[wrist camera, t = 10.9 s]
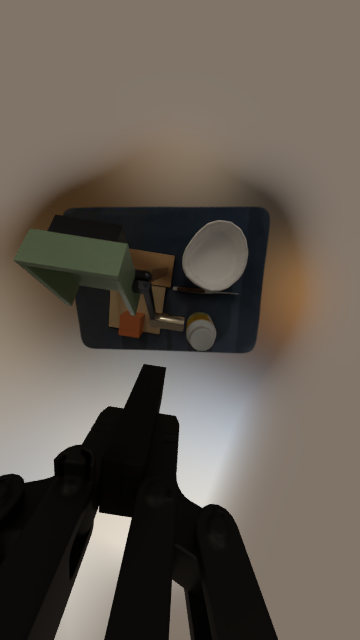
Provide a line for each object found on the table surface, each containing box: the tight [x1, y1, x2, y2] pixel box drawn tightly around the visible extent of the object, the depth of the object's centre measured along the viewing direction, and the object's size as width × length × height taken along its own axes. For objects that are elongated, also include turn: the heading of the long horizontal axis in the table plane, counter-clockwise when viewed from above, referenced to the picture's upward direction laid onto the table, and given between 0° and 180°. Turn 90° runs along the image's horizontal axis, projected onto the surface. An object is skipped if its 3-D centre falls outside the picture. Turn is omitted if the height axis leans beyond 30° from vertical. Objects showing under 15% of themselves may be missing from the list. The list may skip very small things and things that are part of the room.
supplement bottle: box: [186, 312, 216, 351], centre depth 37 cm, size 5×5×10 cm
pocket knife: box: [173, 287, 236, 294], centre depth 39 cm, size 14×1×2 cm, turn 85°
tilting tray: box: [14, 215, 185, 331], centre depth 23 cm, size 15×16×5 cm
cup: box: [182, 220, 248, 292], centre depth 33 cm, size 10×10×10 cm
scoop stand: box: [129, 249, 175, 287], centre depth 30 cm, size 6×13×18 cm, turn 81°
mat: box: [109, 285, 166, 334], centre depth 41 cm, size 10×11×1 cm
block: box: [119, 311, 145, 338], centre depth 40 cm, size 4×4×4 cm
